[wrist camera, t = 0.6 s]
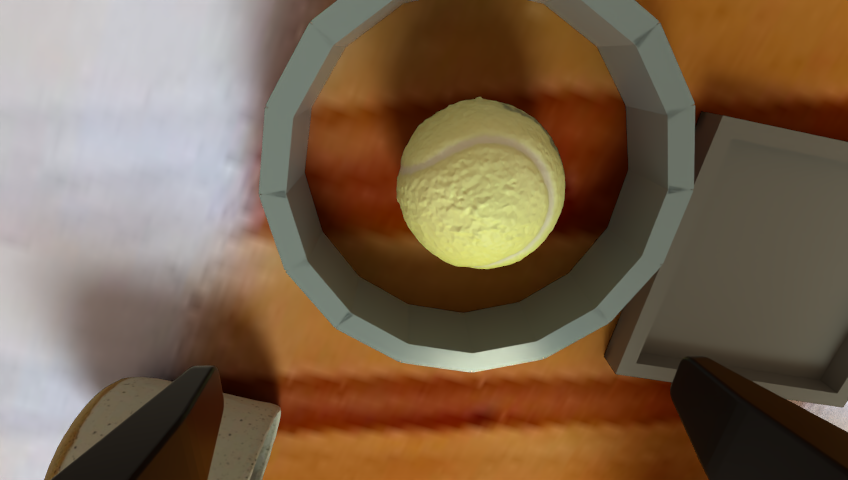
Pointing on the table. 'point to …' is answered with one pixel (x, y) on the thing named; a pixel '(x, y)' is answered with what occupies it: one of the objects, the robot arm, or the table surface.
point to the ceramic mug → (241, 421)
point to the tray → (752, 267)
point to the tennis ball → (481, 184)
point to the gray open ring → (552, 305)
